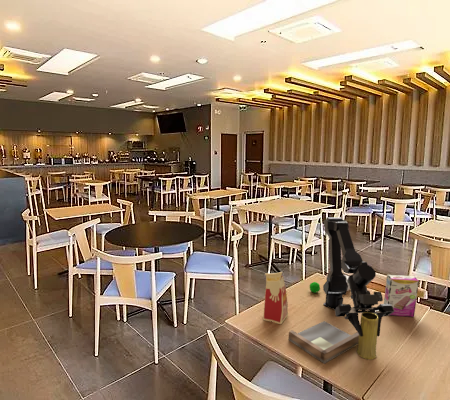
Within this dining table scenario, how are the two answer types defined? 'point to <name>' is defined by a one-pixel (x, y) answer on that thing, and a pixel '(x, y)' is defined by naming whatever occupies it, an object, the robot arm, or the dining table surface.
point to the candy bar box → (401, 294)
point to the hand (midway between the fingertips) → (370, 336)
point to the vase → (368, 336)
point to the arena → (324, 341)
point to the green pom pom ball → (314, 287)
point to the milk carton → (275, 298)
